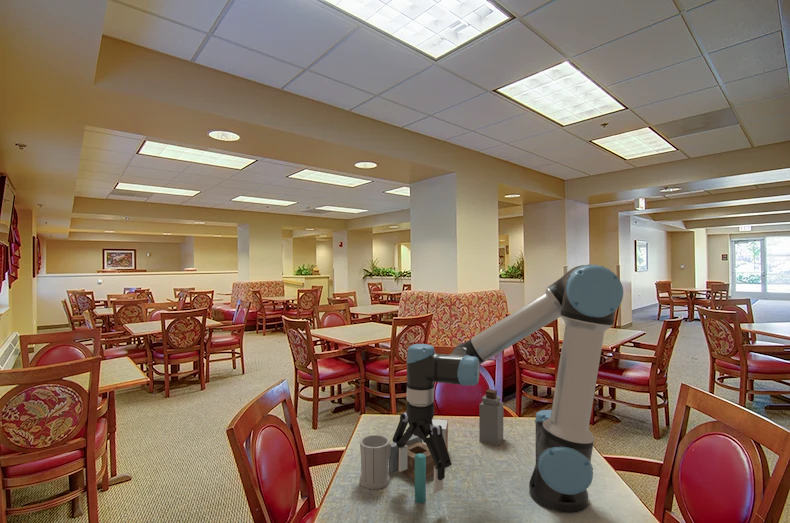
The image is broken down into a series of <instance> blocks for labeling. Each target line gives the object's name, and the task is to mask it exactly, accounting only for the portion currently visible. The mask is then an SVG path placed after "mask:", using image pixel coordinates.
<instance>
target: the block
mask: <svg viewBox="0 0 790 523" xmlns="http://www.w3.org/2000/svg"><path fill="white" fill-rule="evenodd" d="M419 453H421V454H424V455H425V456H426V479H428V478H430V477H432V476H434V466H436V464H435V462H434V460H433V458H432V455H431V453H430V451H429V449H428V447H427V445H426V443H424V442H422V443H421V442H419V441H417V442H415V443H413V444H410V445H408V456H407V469H406V470H404V471H402V472H400V471H399V457H398V471H397V472H399V473H401V474H402V475H404V476H406V477H408V478H409V479H411V480H412V481H414V482H415V455H416V454H419Z"/></svg>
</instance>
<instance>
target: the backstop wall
mask: <svg viewBox="0 0 790 523" xmlns="http://www.w3.org/2000/svg"><path fill="white" fill-rule="evenodd" d="M417 441H419V442H421V443H423V439H421V438H419V437H418V436H415V435H414V434H413V435H412V437H411V438H410V439H409V440H408V441H407V444H405V445H406V446H408V445H410V444H413V443H415V442H417ZM390 445H391V454H390V457H389V459H388V472H390V473H392V474H394V473H397V472H399V471H398V447H397V444H396V443H394V442H392V443H390ZM405 445H404V446H405Z"/></svg>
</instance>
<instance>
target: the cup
mask: <svg viewBox="0 0 790 523" xmlns="http://www.w3.org/2000/svg"><path fill="white" fill-rule="evenodd" d="M390 442H391V441H390V438H388V437H387V436H385V435H382V434H370V435H366V436H364V437H362V438H360V440H359V449H360V464H361V466H360V467H361V468H360V469H361V471H360V475H359V483H360V484H361V486H362V487H364V488H366V489H369V490H379V489H382V488H385V487H386V486H387V485H388V484H389V483H390V474H389V457H390V454H391V445H390V444H391V443H390Z"/></svg>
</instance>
